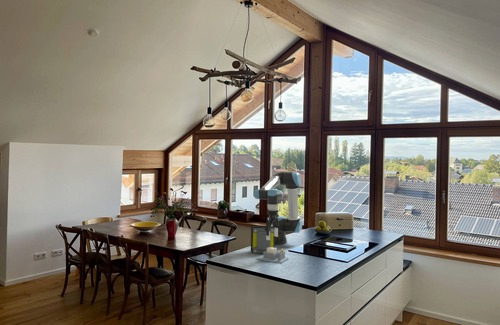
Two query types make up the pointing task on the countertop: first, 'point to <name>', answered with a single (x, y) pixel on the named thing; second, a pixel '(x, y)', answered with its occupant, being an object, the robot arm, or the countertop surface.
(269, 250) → the plug
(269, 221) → the robot arm
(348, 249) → the countertop surface
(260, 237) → the electrical component
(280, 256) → the header board
